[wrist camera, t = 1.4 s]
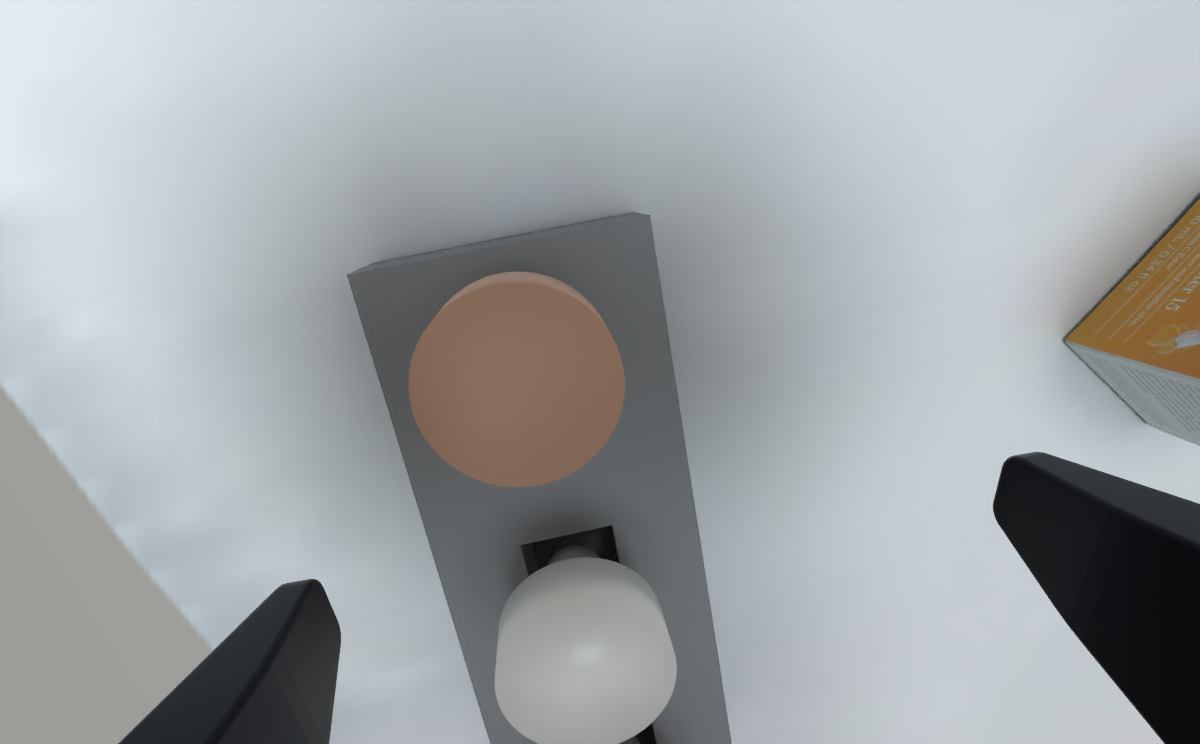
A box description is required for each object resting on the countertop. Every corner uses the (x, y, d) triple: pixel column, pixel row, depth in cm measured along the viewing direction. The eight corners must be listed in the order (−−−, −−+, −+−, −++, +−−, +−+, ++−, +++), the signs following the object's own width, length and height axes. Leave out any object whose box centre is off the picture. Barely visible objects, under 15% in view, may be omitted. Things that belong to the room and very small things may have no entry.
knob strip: (717, 727, 28) (738, 788, 25) (522, 773, 27) (520, 841, 25) (633, 212, 21) (649, 215, 18) (372, 263, 21) (347, 274, 18)
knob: (614, 397, 20) (640, 463, 15) (463, 429, 20) (440, 506, 15) (585, 244, 19) (604, 262, 14) (422, 276, 18) (381, 307, 13)
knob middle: (655, 612, 22) (688, 727, 18) (520, 642, 22) (517, 768, 17) (632, 492, 21) (662, 582, 16) (488, 523, 21) (474, 624, 16)
